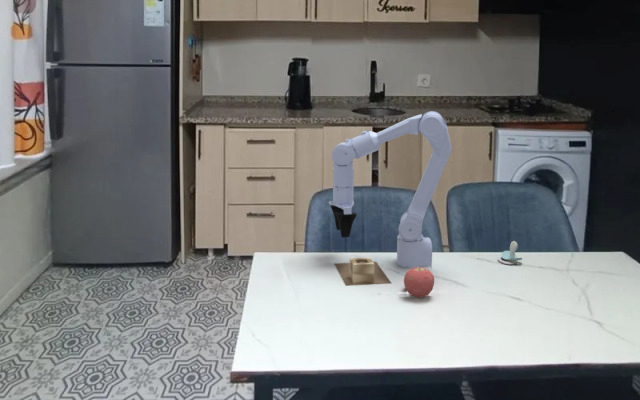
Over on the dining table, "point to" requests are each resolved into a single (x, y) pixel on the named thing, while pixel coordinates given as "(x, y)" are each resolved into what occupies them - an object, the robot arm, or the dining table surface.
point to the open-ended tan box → (361, 270)
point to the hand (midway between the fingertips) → (342, 233)
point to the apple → (419, 282)
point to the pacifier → (510, 254)
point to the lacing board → (378, 279)
